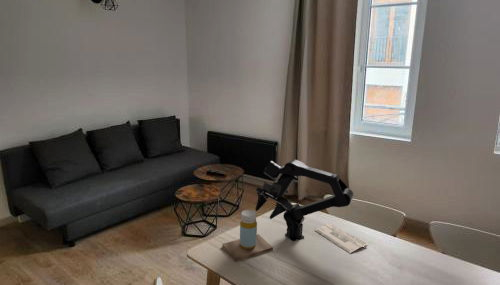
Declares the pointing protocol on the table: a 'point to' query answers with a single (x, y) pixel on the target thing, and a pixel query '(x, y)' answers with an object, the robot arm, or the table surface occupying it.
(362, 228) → the table surface
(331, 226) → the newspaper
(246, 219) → the bottle
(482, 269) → the table surface
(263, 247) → the brown rectangular board
